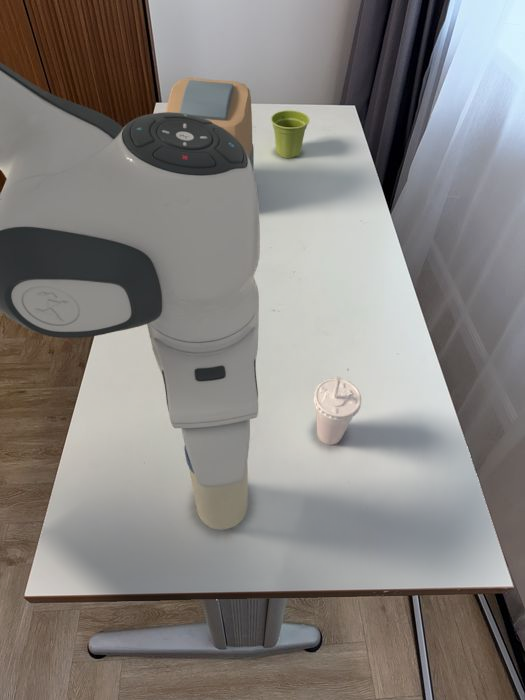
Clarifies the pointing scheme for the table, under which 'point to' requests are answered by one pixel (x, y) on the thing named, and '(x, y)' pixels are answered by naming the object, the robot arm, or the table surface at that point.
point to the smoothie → (335, 408)
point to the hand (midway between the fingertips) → (213, 418)
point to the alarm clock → (217, 106)
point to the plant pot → (289, 132)
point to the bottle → (220, 501)
